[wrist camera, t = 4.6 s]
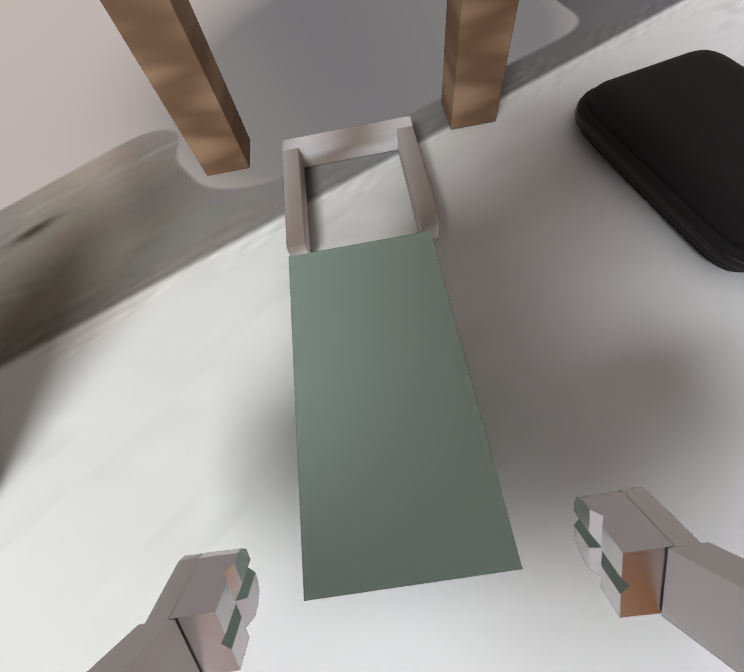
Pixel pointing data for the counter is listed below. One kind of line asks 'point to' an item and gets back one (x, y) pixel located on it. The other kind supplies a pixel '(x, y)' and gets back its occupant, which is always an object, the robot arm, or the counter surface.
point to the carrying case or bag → (679, 145)
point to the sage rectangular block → (388, 426)
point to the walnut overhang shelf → (232, 144)
